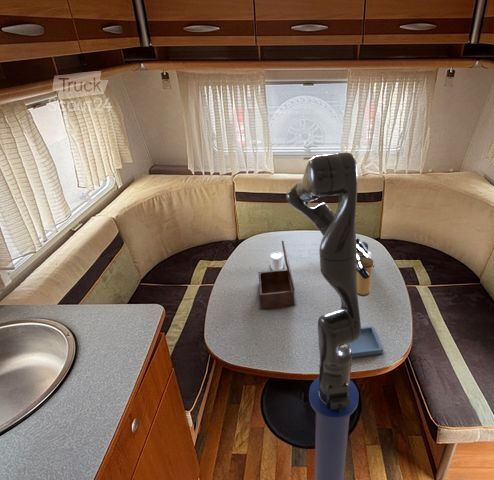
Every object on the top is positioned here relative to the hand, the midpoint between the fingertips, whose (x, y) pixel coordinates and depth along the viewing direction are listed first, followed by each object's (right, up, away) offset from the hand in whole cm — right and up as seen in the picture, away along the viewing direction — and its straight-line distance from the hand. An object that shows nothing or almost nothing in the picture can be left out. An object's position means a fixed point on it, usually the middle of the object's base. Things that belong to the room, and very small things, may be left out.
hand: (369, 272), depth 115 cm
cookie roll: (-2, -7, +5) cm, 9 cm away
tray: (-2, -28, +16) cm, 32 cm away
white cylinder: (-34, -3, +56) cm, 66 cm away
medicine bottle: (+6, -2, +58) cm, 58 cm away
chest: (-33, -13, +39) cm, 53 cm away
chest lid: (-28, 0, +32) cm, 43 cm away
